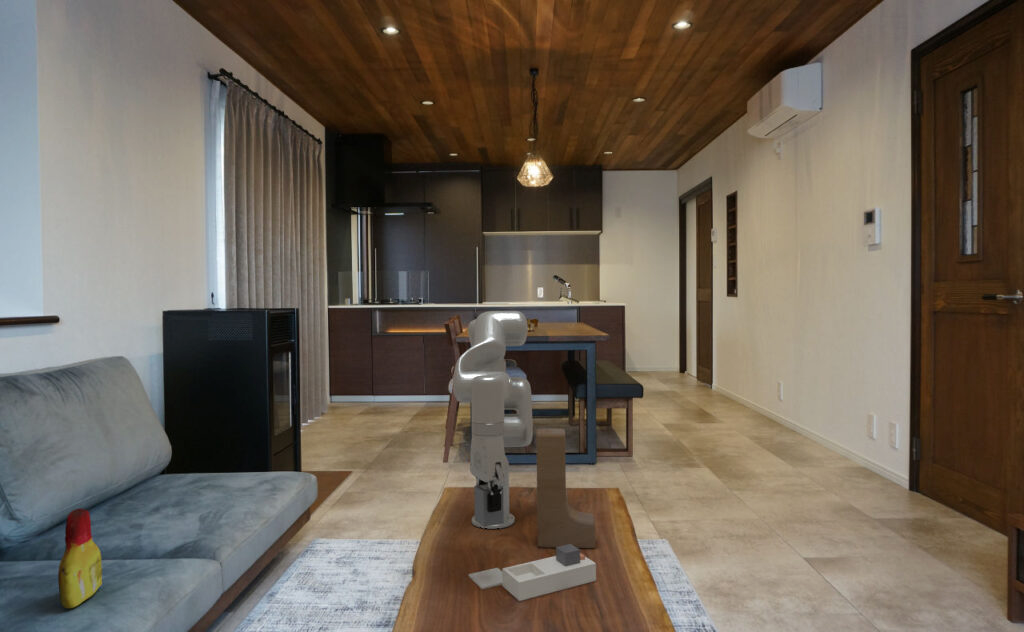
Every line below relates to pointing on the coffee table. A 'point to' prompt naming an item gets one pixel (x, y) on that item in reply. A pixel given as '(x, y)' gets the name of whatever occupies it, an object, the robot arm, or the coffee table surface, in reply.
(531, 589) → the power strip
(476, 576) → the felt pad
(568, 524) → the decorative block
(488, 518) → the block
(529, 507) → the coffee table surface
